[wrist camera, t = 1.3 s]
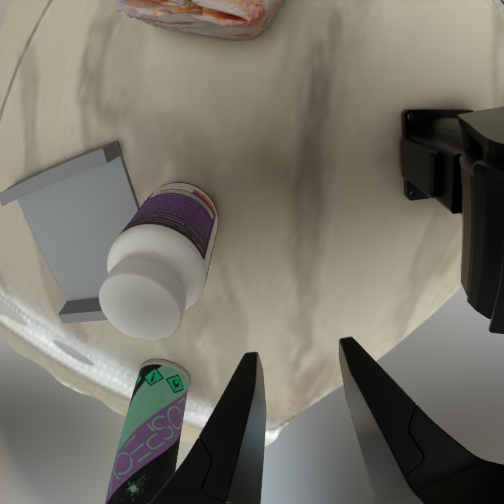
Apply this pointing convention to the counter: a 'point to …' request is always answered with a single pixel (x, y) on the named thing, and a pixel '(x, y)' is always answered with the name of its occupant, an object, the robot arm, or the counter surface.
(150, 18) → the food item
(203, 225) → the pill bottle
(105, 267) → the tray
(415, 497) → the robot arm
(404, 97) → the counter surface
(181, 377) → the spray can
